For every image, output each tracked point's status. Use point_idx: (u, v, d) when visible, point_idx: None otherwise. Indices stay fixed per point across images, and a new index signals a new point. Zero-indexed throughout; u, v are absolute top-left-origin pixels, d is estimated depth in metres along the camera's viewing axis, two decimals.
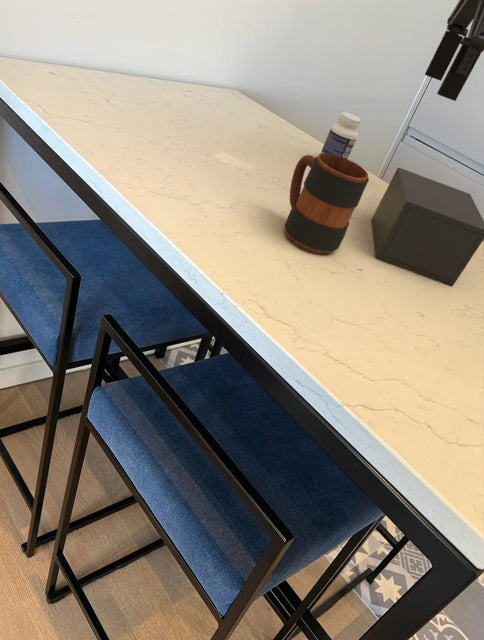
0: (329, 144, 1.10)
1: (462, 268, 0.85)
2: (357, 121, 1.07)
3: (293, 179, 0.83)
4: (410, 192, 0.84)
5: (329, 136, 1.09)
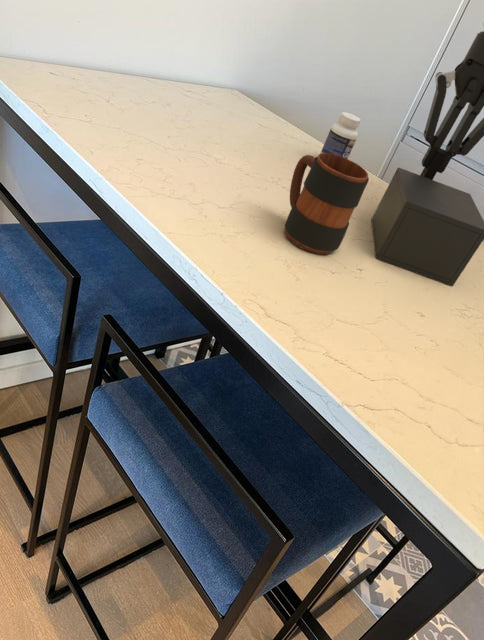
0: (329, 144, 1.10)
1: (462, 268, 0.85)
2: (357, 121, 1.07)
3: (293, 179, 0.83)
4: (410, 192, 0.84)
5: (329, 136, 1.09)
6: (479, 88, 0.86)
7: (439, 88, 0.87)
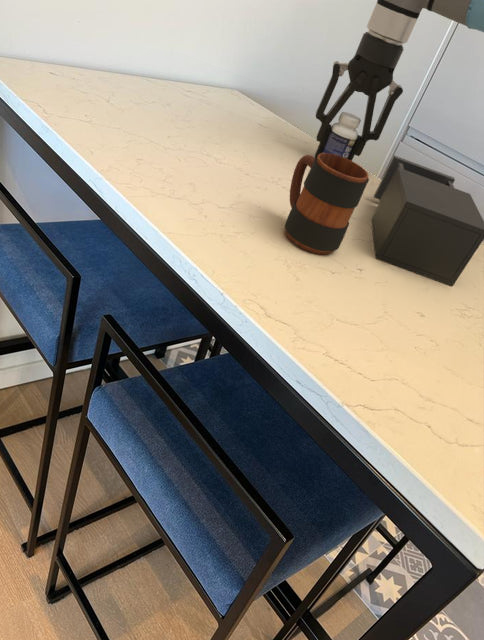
0: (329, 144, 1.10)
1: (462, 268, 0.85)
2: (357, 121, 1.07)
3: (293, 179, 0.83)
4: (410, 192, 0.84)
5: (329, 136, 1.09)
6: None
7: None
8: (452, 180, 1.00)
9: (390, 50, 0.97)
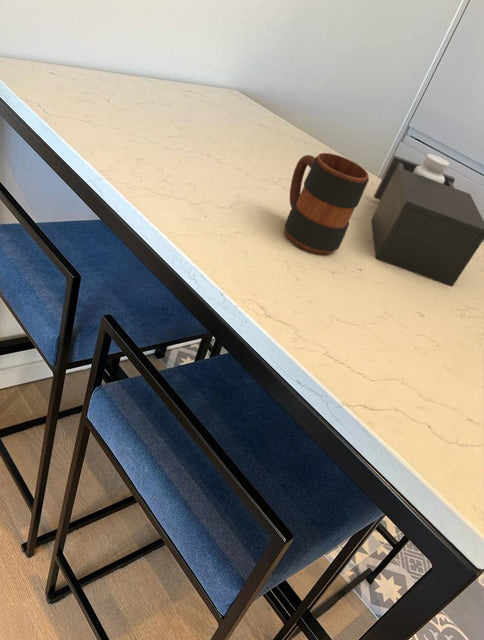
0: None
1: (462, 268, 0.85)
2: (446, 165, 0.94)
3: (293, 179, 0.83)
4: (410, 192, 0.84)
5: None
6: None
7: None
8: (452, 180, 1.00)
9: None
